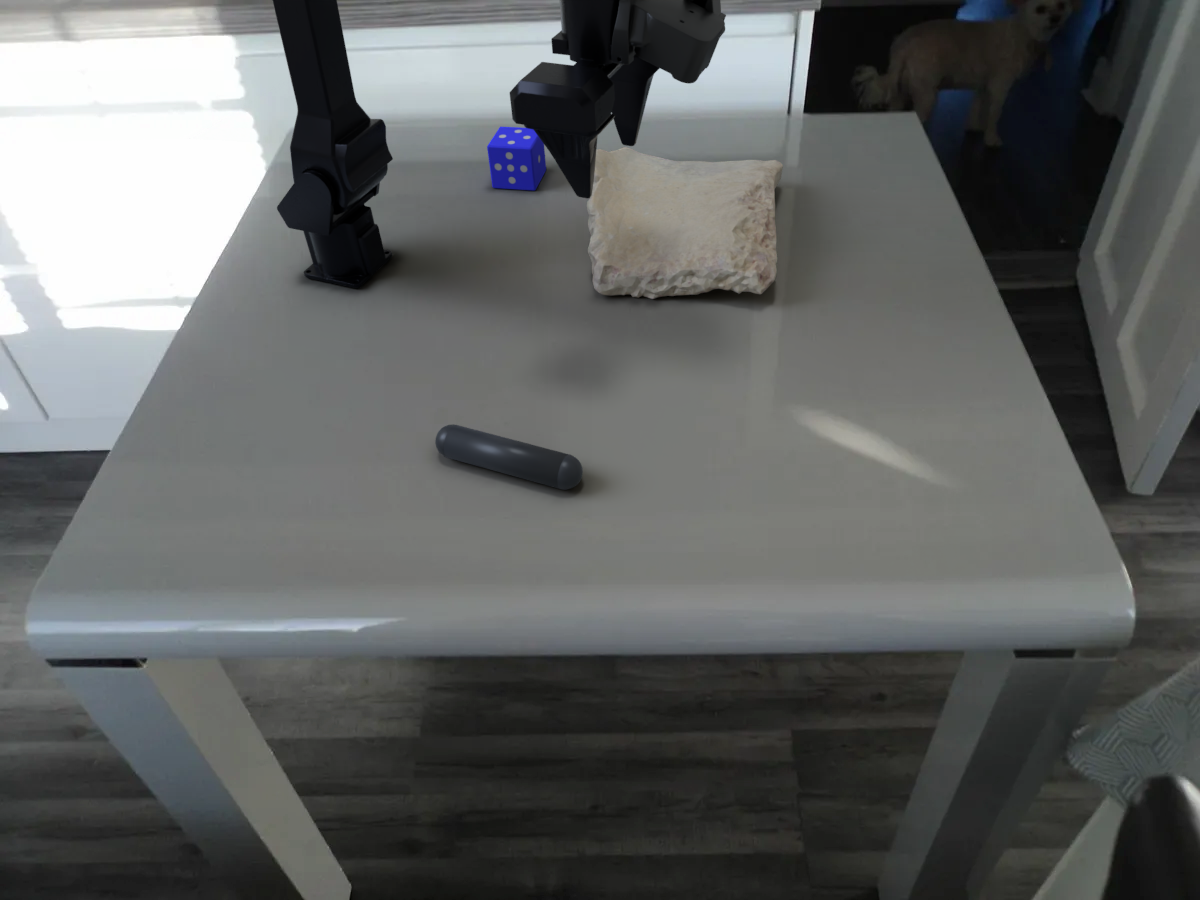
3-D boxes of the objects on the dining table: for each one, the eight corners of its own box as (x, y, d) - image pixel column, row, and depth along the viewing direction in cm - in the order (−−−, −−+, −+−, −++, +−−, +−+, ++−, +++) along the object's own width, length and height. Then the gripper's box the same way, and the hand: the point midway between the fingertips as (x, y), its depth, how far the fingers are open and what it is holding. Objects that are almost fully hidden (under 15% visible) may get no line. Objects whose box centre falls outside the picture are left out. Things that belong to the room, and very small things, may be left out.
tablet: (559, 303, 85) (775, 303, 81) (546, 231, 81) (775, 226, 76) (610, 188, 103) (789, 183, 98) (602, 123, 98) (790, 114, 94)
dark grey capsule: (432, 460, 69) (426, 435, 68) (448, 439, 71) (443, 414, 69) (575, 500, 66) (572, 475, 64) (589, 476, 67) (587, 451, 66)
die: (535, 191, 100) (531, 148, 97) (492, 188, 101) (486, 145, 97) (546, 170, 104) (542, 128, 100) (504, 168, 104) (499, 125, 101)
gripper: (665, 7, 52) (663, 246, 63) (754, -79, 64) (740, 133, 75) (493, -9, 56) (520, 220, 66) (609, -87, 68) (615, 117, 79)
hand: (607, 169), depth 71 cm, fingers open, 9 cm apart
